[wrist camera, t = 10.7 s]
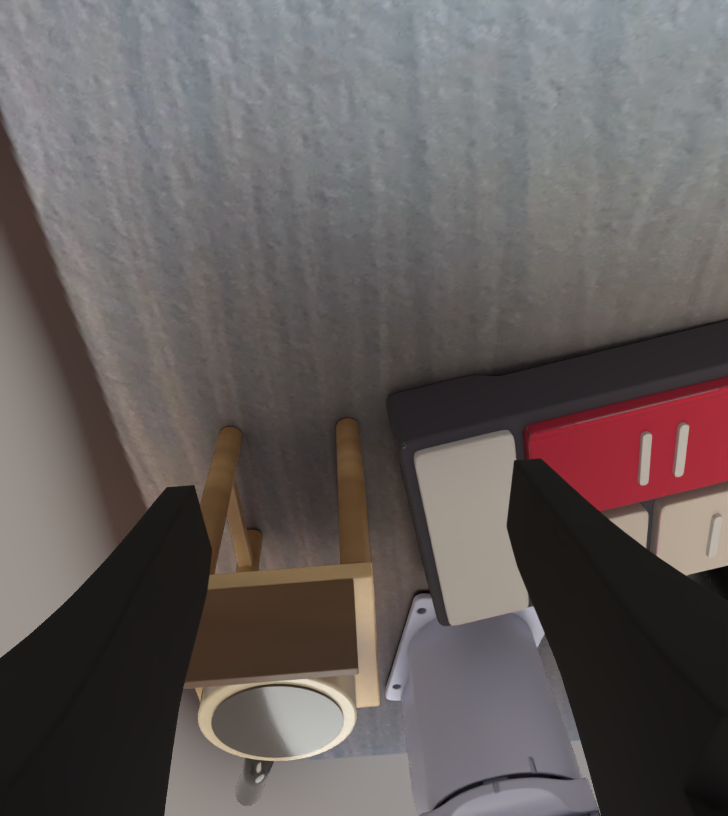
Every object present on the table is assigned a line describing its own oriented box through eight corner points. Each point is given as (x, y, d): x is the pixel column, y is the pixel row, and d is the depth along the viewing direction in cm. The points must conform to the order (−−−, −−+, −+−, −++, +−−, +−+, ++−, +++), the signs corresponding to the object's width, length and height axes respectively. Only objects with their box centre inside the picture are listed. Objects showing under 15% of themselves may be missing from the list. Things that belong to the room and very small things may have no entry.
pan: (222, 592, 17) (208, 668, 15) (370, 612, 18) (376, 687, 16) (189, 734, 21) (175, 810, 19) (311, 745, 22) (310, 818, 20)
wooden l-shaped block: (379, 690, 21) (388, 795, 18) (218, 704, 21) (200, 811, 18) (372, 561, 17) (382, 666, 14) (175, 576, 17) (144, 685, 14)
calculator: (771, 567, 25) (443, 644, 26) (710, 503, 29) (424, 571, 29) (827, 354, 19) (400, 457, 20) (742, 306, 23) (383, 394, 23)
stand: (365, 535, 28) (379, 690, 21) (243, 544, 28) (218, 704, 21) (358, 416, 24) (372, 561, 17) (216, 426, 24) (175, 576, 17)
